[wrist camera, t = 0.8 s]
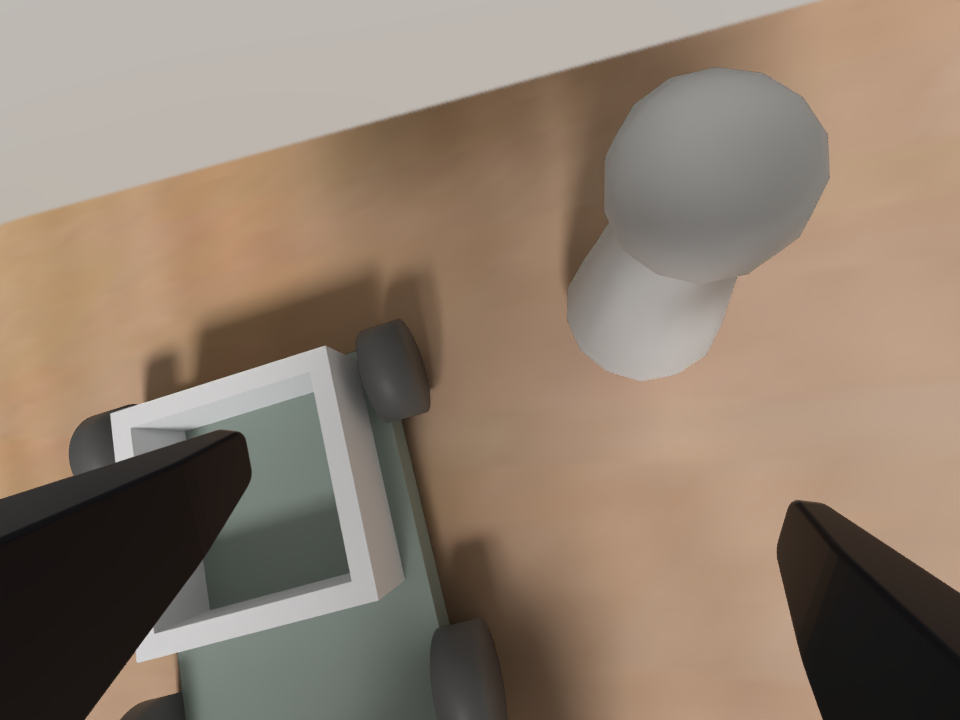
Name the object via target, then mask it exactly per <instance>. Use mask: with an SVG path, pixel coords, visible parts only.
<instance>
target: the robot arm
mask: <svg viewBox="0 0 960 720" xmlns="http://www.w3.org/2000/svg"><path fill="white" fill-rule="evenodd" d="M251 477H252V468H251V463H250V458H249V452H248V447H247V442H246V438H245V436H244V435H243V434H242V433H241V432H238V431H230V430H216V431H213V432H210V433H206V434H203V435H200V436H197V437H194V438H191V439H188V440H184V441H181V442H178V443H175V444H172V445H169V446H166V447H163V448H159V449H156V450H153V451H150V452H147V453H144V454H141V455H137V456H134V457H131V458H128V459H125V460H122V461H119V462H115V463H112V464H109V465H106V466H103V467H100V468H97V469H94V470H90V471H87V472H84V473H81V474H78V475H75V476H72V477H68V478H65V479H62V480H59V481H56V482H53V483H50V484H47V485H43V486H40V487H37V488H34V489H31V490H28V491H25V492H21V493H18V494H15V495H12V496H9V497H6V498H3V499H0V720H85V719H86V717H87V716H88V715H89V713H90V712H91V711H92V709H93V708H94V706H95V705H96V704H97V702H98V701H99V700H100V698H101V697H102V696H103V694H104V693H105V692H106V690H107V689H108V688H109V686H110V685H111V684H112V682H113V681H114V680H115V678H116V677H117V675H118V674H119V673H120V671H121V670H122V669H123V667H124V666H125V665H126V663H127V662H128V661H129V659H130V658H131V657H132V655H133V654H134V653H135V651H136V650H137V649H138V647H139V646H140V644H141V643H142V642H143V640H144V639H145V638H146V636H147V635H148V634H149V632H150V631H151V630H152V628H153V627H154V626H155V624H156V623H157V622H158V620H159V619H160V618H161V616H162V615H163V613H164V612H165V611H166V609H167V608H168V607H169V605H170V604H171V603H172V601H173V600H174V599H175V597H176V596H177V595H178V593H179V592H180V591H181V589H182V588H183V587H184V585H185V584H186V582H187V581H188V580H189V578H190V577H191V576H192V574H193V573H194V572H195V570H196V569H197V568H198V566H199V565H200V563H201V562H202V560H203V559H204V558H205V556H206V555H207V553H208V551H209V550H210V548H211V547H212V545H213V544H214V542H215V540H216V539H217V537H218V535H219V534H220V532H221V530H222V529H223V527H224V525H225V524H226V522H227V520H228V519H229V517H230V515H231V514H232V512H233V510H234V509H235V507H236V506H237V504H238V502H239V501H240V499H241V497H242V496H243V494H244V492H245V491H246V489H247V487H248V486H249V483H250V481H251ZM777 560H778V564H779V568H780V573H781V577H782V581H783V585H784V589H785V594H786V598H787V602H788V606H789V610H790V615H791V619H792V623H793V627H794V631H795V635H796V640H797V644H798V647H799V651H800V655H801V659H802V662H803V665H804V668H805V671H806V674H807V677H808V680H809V683H810V685H811V688H812V691H813V694H814V697H815V699H816V702H817V705H818V708H819V710H820V713H821V716H822V719H823V720H960V593H959V592H958V591H956V590H955V589H953V588H952V587H950V586H949V585H947V584H945V583H944V582H942V581H941V580H939V579H938V578H936V577H935V576H933V575H932V574H930V573H929V572H927V571H926V570H924V569H923V568H921V567H920V566H918V565H917V564H915V563H914V562H912V561H911V560H909V559H908V558H906V557H905V556H903V555H901V554H900V553H898V552H897V551H895V550H894V549H892V548H891V547H889V546H888V545H886V544H885V543H883V542H882V541H880V540H879V539H877V538H876V537H874V536H873V535H871V534H870V533H868V532H867V531H865V530H864V529H862V528H861V527H859V526H858V525H856V524H855V523H853V522H851V521H850V520H848V519H847V518H845V517H844V516H842V515H841V514H839V513H838V512H836V511H835V510H833V509H832V508H830V507H829V506H827V505H825V504H823V503H818V502H809V501H801V500H795V501H793V502H791V504H790V505H789V507H788V509H787V513H786V516H785V519H784V523H783V526H782V530H781V533H780V536H779V540H778V544H777Z"/></svg>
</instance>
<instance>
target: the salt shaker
mask: <svg viewBox="0 0 960 720" xmlns="http://www.w3.org/2000/svg"><path fill="white" fill-rule="evenodd" d="M829 178H830V174H829V149H828V134H827V132H826V131H825V129H824V128H823V126H822V125H821V123H820V122H819V120H818V119H817V117H816V116H815V114H814V113H813V111H812V110H811V108H810V107H809V105H808V104H807V102H806V101H805V99H804V98H803V97H802V96H800V95H799V94H797V93H795V92H794V91H792V90H790V89H789V88H787V87H785V86H784V85H782V84H781V83H779V82H777V81H776V80H774V79H772V78H771V77H769V76H767V75H766V74H764V73H759V72H751V71H743V70H735V69H727V68H719V67H714V68H710V69H706V70H701V71H697V72H693V73H689V74H684V75H680V76H676V77H672V78H669V79H668V80H666V81H665V82H664V83H662V84H661V85H660V86H658V87H657V88H656V89H654V90H653V91H652V92H650V93H649V94H648V95H646V96H645V97H643V98H642V99H641V100H639V101H638V102H637V103H635V104H634V105H633V107H632V109H631V111H630V112H629V114H628V116H627V117H626V119H625V121H624V123H623V124H622V126H621V128H620V130H619V131H618V133H617V135H616V137H615V138H614V140H613V142H612V144H611V146H610V148H609V151H608V153H607V155H606V157H605V184H604V213H605V215H606V217H607V219H608V221H609V223H608V224H607V226H606V228H605V229H604V231H603V232H602V234H601V236H600V237H599V239H598V240H597V242H596V243H595V245H594V246H593V248H592V249H591V251H590V252H589V253H588V255H587V256H586V258H585V259H584V261H583V262H582V264H581V266H580V268H579V269H578V271H577V273H576V275H575V276H574V278H573V280H572V282H571V283H570V285H569V287H568V299H567V321H568V323H569V326H570V328H571V330H572V332H573V335H574V337H575V339H576V342H577V344H578V346H579V349H580V351H582V352H583V353H584V354H585V355H587V356H588V357H589V358H590V359H592V360H593V361H594V362H596V363H597V364H598V365H599V366H601V367H602V368H603V369H605V370H606V371H607V372H610V373H614V374H617V375H621V376H624V377H628V378H631V379H635V380H638V381H646V380H651V379H656V378H661V377H666V376H672V375H677V374H679V373H680V372H682V371H683V370H685V369H686V368H687V367H689V366H690V365H692V364H693V363H695V362H696V361H698V360H699V359H701V358H702V357H704V356H705V355H706V354H707V352H708V350H709V348H710V346H711V344H712V342H713V340H714V338H715V336H716V334H717V333H718V331H719V329H720V327H721V325H722V322H723V319H724V316H725V313H726V310H727V307H728V304H729V300H730V297H731V294H732V291H733V288H734V285H735V282H736V279H737V276H741V275H746V274H748V273H750V272H751V271H753V270H754V269H756V268H757V267H758V266H760V265H761V264H763V263H764V262H766V261H767V260H769V259H770V258H771V257H773V256H774V255H776V254H777V253H779V252H780V251H782V250H783V249H784V248H786V247H787V246H788V245H790V244H791V243H792V242H794V241H795V240H796V239H797V238H799V237H800V235H801V233H802V231H803V230H804V228H805V226H806V224H807V222H808V221H809V219H810V217H811V215H812V213H813V211H814V209H815V207H816V205H817V203H818V201H819V199H820V197H821V195H822V193H823V190H824V188H825V186H826V184H827V182H828V180H829Z"/></svg>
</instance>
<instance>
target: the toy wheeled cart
mask: <svg viewBox="0 0 960 720" xmlns="http://www.w3.org/2000/svg"><path fill="white" fill-rule="evenodd" d="M429 408H430V391H429V384H428V379H427V375H426V371H425V367H424V364H423V361H422V358H421V355H420V352H419V349H418V347H417V344H416V342H415V340H414V338H413V336H412V334H411V332H410V330H409V328H408V327H407V325H406V324H405V323H404V322H403V321H402V320H400V319H397V320H394V321H391V322H388V323H385V324H381V325H378V326H375V327H372V328H369V329H366V330H362V331H360V332H359V334H358V336H357V340H356V351H355V352H351V353H348V354H342V353H340V352H338V351H336V350H334V349H332V348H330V347H328V346H326V345H325V346H322V347H319V348H316V349H312V350H309V351H306V352H303V353H300V354H297V355H294V356H290V357H287V358H284V359H281V360H278V361H275V362H271V363H268V364H265V365H262V366H259V367H256V368H252V369H249V370H246V371H243V372H240V373H237V374H233V375H230V376H227V377H224V378H221V379H218V380H215V381H211V382H208V383H205V384H202V385H199V386H196V387H192V388H189V389H186V390H183V391H180V392H177V393H173V394H170V395H167V396H164V397H161V398H158V399H155V400H151V401H148V402H145V403H142V404H139V405H138V404H131V405H126V406H123V407H120V408H117V409H113V410H110V411H107V412H104V413H101V414H98V415H95V416H92V417H89V418H87V419H86V420H84V421H83V422H82V423H81V424H80V425H79V426H78V427H77V428H76V430H75V432H74V433H73V436H72V438H71V441H70V446H69V461H70V466H71V470H72V473H73V475H74V476H75V475H78V474H81V473H84V472H87V471H90V470H94V469H97V468H100V467H103V466H106V465H109V464H112V463H115V462H119V461H122V460H125V459H128V458H131V457H134V456H137V455H141V454H144V453H147V452H150V451H153V450H156V449H159V448H163V447H166V446H169V445H172V444H175V443H178V442H181V441H184V440H188V439H191V438H194V437H197V436H200V435H203V434H206V433H210V432H213V431H216V430H230V431H238V432H241V433H242V434H243V435H244V436H245V438H246V442H247V447H248V452H249V458H250V463H251V468H252V477H251V481H250V483H249V486H248V487H247V489H246V491H245V492H244V494H243V496H242V497H241V499H240V501H239V502H238V504H237V506H236V507H235V509H234V510H233V512H232V514H231V515H230V517H229V519H228V520H227V522H226V524H225V525H224V527H223V529H222V530H221V532H220V534H219V535H218V537H217V539H216V540H215V542H214V544H213V545H212V547H211V548H210V550H209V551H208V553H207V555H206V556H205V558H204V559H203V560H202V562H201V563H200V565H199V566H198V568H197V569H196V570H195V572H194V573H193V574H192V576H191V577H190V578H189V580H188V581H187V582H186V584H185V585H184V587H183V588H182V589H181V591H180V592H179V593H178V595H177V596H176V597H175V599H174V600H173V601H172V603H171V604H170V605H169V607H168V608H167V609H166V611H165V612H164V613H163V615H162V616H161V618H160V619H159V620H158V622H157V623H156V624H155V626H154V627H153V628H152V630H151V631H150V632H149V634H148V635H147V636H146V638H145V639H144V640H143V642H142V643H141V644H140V646H139V647H138V649H137V650H136V659H137V663H139V662H143V661H147V660H151V659H155V658H159V657H162V656H166V655H170V654H174V653H177V654H178V662H179V670H180V678H181V686H182V692H180V693H176V694H172V695H168V696H164V697H160V698H156V699H152V700H148V701H144V702H141V703H139V704H137V705H136V706H134V707H133V708H131V709H130V710H129V711H128V712H127V713H126V714H125V715H124V716H123V717H122V718H121V719H120V720H507V712H506V701H505V693H504V686H503V680H502V675H501V670H500V665H499V661H498V657H497V653H496V649H495V646H494V643H493V640H492V637H491V634H490V632H489V629H488V627H487V625H486V623H485V622H484V620H483V619H482V618H475V619H471V620H467V621H463V622H459V623H455V624H451V625H450V623H449V619H448V615H447V611H446V606H445V602H444V598H443V594H442V589H441V585H440V581H439V577H438V572H437V568H436V564H435V560H434V555H433V551H432V547H431V543H430V539H429V534H428V530H427V526H426V522H425V517H424V513H423V509H422V505H421V500H420V496H419V492H418V488H417V483H416V479H415V475H414V471H413V467H412V462H411V458H410V454H409V450H408V445H407V441H406V437H405V433H404V428H403V424H402V419H405V418H408V417H412V416H415V415H419V414H422V413H425V412H428V411H429Z"/></svg>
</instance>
